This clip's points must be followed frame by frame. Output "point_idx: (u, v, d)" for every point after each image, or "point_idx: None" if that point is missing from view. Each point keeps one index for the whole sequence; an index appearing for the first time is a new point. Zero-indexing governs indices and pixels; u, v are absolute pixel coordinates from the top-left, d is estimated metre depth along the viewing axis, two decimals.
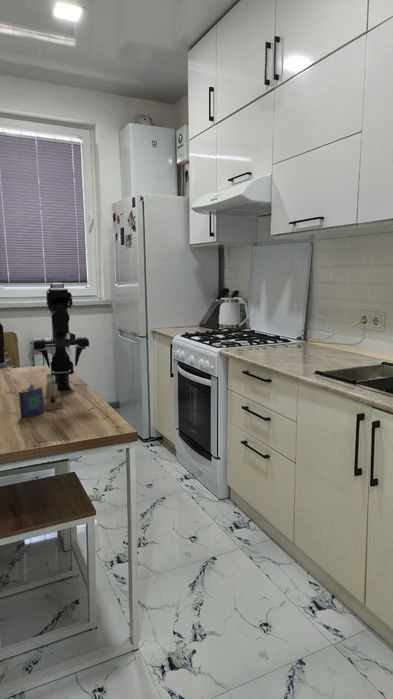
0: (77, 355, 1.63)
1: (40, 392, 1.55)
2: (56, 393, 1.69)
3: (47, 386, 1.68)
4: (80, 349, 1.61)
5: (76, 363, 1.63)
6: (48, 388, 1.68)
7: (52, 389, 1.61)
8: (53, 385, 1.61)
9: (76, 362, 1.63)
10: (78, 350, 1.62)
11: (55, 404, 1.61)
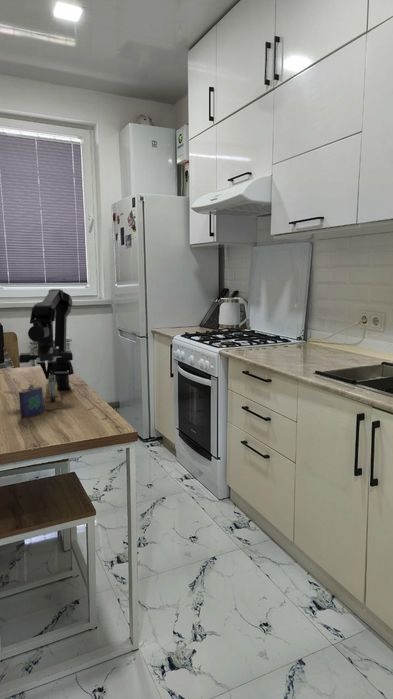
0: (48, 369, 1.69)
1: (40, 392, 1.55)
2: (56, 393, 1.69)
3: (47, 386, 1.68)
4: (51, 363, 1.67)
5: (47, 377, 1.69)
6: (48, 388, 1.68)
7: (52, 389, 1.61)
8: (53, 385, 1.61)
9: (47, 376, 1.69)
10: (49, 364, 1.67)
11: (55, 404, 1.61)
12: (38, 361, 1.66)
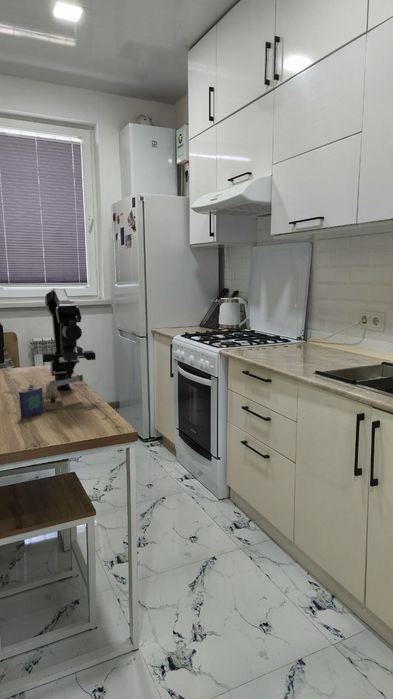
0: (71, 368, 1.69)
1: (40, 392, 1.55)
2: (56, 393, 1.69)
3: (47, 386, 1.68)
4: (74, 363, 1.67)
5: (70, 376, 1.69)
6: (48, 388, 1.68)
7: (50, 389, 1.61)
8: (51, 385, 1.61)
9: (70, 375, 1.69)
10: (72, 364, 1.68)
11: (55, 404, 1.61)
12: (61, 360, 1.66)
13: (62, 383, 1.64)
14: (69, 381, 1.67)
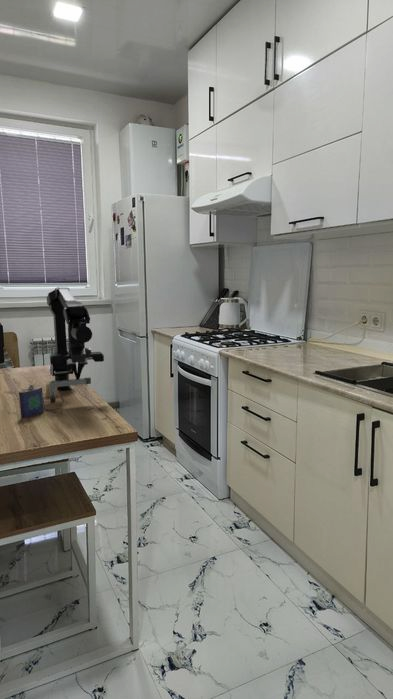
0: (79, 370, 1.65)
1: (40, 392, 1.55)
2: (56, 393, 1.69)
3: (47, 386, 1.68)
4: (82, 364, 1.64)
5: (78, 378, 1.66)
6: (48, 388, 1.68)
7: None
8: (50, 385, 1.61)
9: (78, 377, 1.66)
10: (80, 365, 1.64)
11: (55, 404, 1.61)
12: (69, 362, 1.63)
13: (63, 384, 1.62)
14: (72, 383, 1.64)
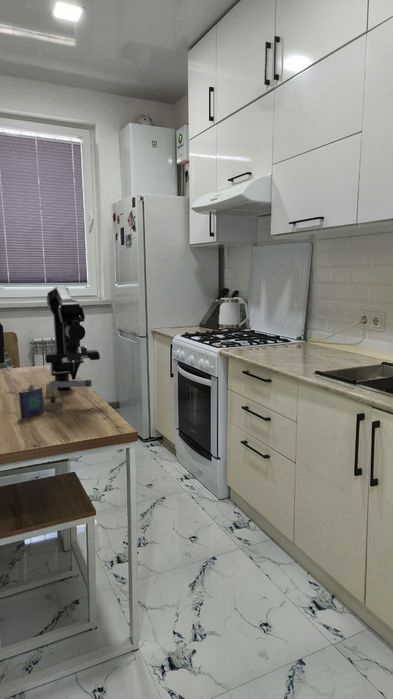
0: (75, 369, 1.64)
1: (40, 392, 1.55)
2: (56, 393, 1.69)
3: (47, 386, 1.68)
4: (78, 363, 1.63)
5: (74, 377, 1.65)
6: (48, 388, 1.68)
7: None
8: (49, 385, 1.61)
9: (74, 376, 1.65)
10: (76, 364, 1.63)
11: (55, 404, 1.61)
12: (64, 361, 1.62)
13: (62, 385, 1.61)
14: (71, 384, 1.61)
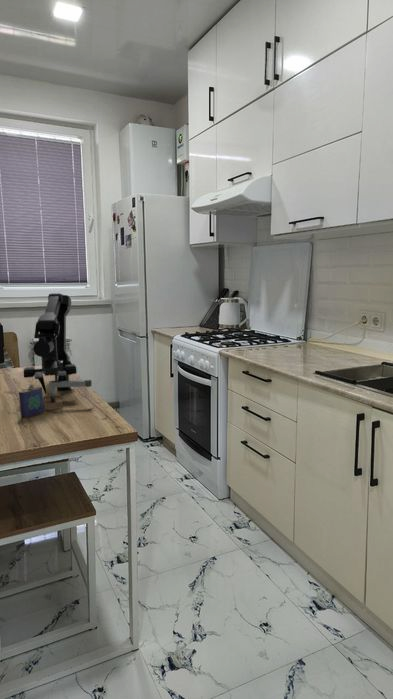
0: None
1: (40, 392, 1.55)
2: (56, 393, 1.69)
3: (47, 386, 1.68)
4: (61, 377, 1.70)
5: (58, 390, 1.72)
6: (48, 388, 1.68)
7: None
8: (49, 385, 1.61)
9: (58, 389, 1.71)
10: (59, 377, 1.70)
11: (55, 404, 1.61)
12: (36, 376, 1.67)
13: (62, 385, 1.61)
14: (71, 384, 1.61)
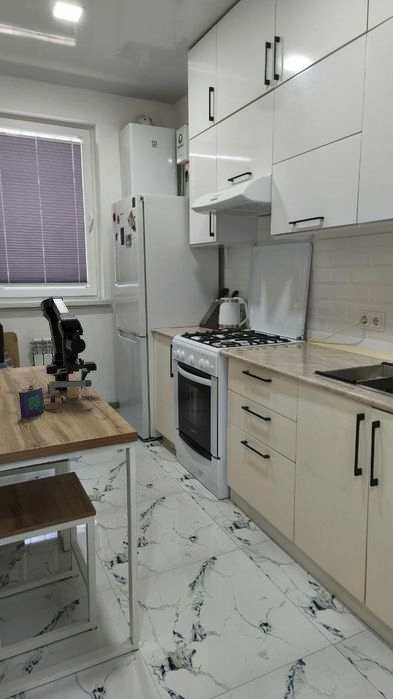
0: (83, 378, 1.78)
1: (40, 392, 1.55)
2: (77, 394, 1.76)
3: (69, 387, 1.75)
4: (85, 373, 1.76)
5: None
6: (70, 389, 1.75)
7: None
8: (49, 385, 1.61)
9: None
10: (83, 374, 1.77)
11: (55, 404, 1.61)
12: (55, 373, 1.73)
13: (62, 385, 1.61)
14: (71, 384, 1.61)
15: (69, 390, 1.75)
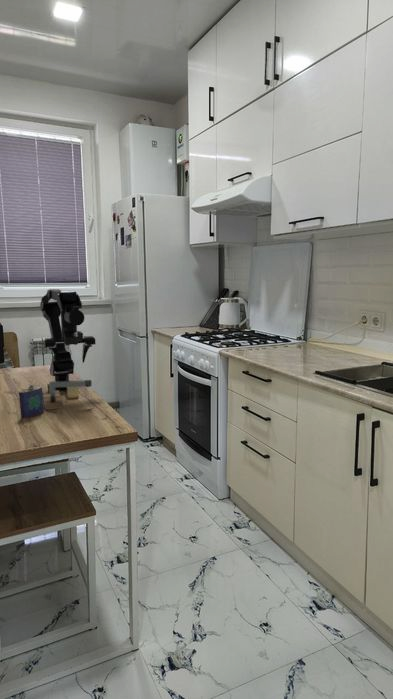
0: (84, 352, 1.76)
1: (40, 392, 1.55)
2: (77, 394, 1.76)
3: (69, 387, 1.75)
4: (87, 347, 1.75)
5: (83, 360, 1.77)
6: (70, 389, 1.75)
7: None
8: (49, 385, 1.61)
9: (83, 359, 1.77)
10: (85, 348, 1.75)
11: (55, 404, 1.61)
12: None
13: (62, 385, 1.61)
14: (71, 384, 1.61)
15: (69, 390, 1.75)
